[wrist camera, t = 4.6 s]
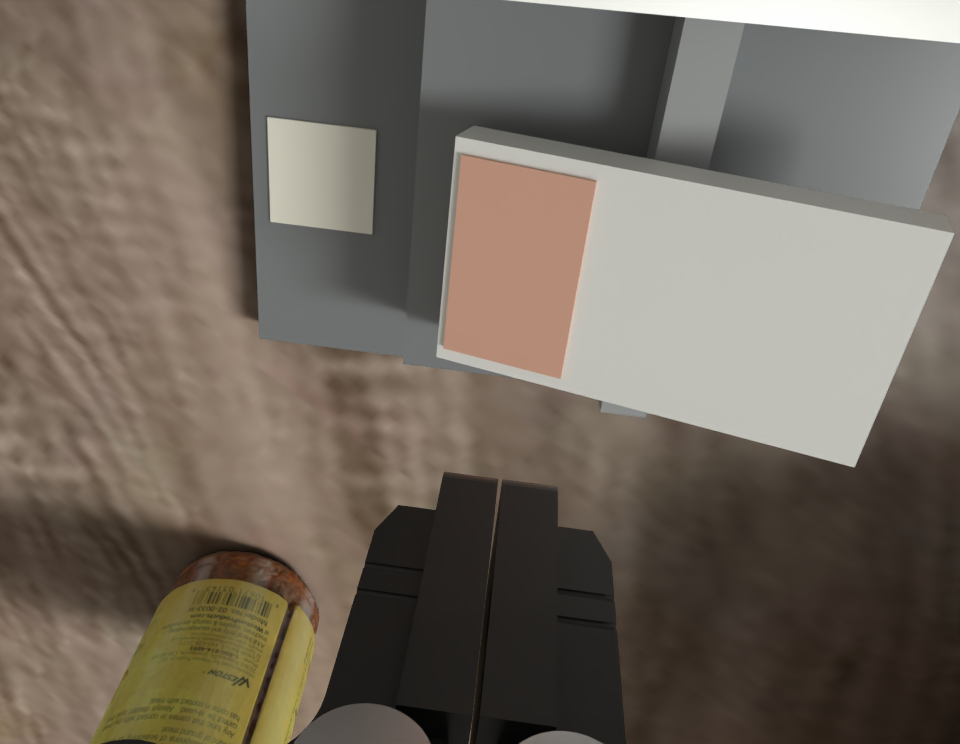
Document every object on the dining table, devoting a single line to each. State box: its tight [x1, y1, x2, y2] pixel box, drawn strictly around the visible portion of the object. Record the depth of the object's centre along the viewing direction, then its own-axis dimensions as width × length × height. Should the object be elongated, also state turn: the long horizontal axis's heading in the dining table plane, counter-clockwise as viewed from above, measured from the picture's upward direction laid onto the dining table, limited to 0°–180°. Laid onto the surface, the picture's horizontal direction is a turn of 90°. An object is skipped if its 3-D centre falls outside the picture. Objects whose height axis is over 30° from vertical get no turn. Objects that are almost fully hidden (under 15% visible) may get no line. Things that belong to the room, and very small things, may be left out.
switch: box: [436, 126, 955, 468], centre depth 18 cm, size 10×6×1 cm, turn 84°
